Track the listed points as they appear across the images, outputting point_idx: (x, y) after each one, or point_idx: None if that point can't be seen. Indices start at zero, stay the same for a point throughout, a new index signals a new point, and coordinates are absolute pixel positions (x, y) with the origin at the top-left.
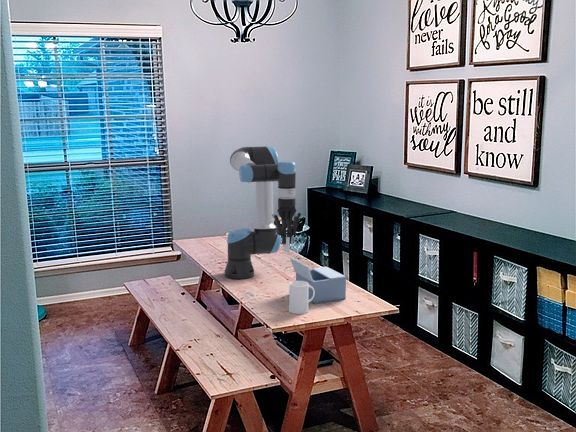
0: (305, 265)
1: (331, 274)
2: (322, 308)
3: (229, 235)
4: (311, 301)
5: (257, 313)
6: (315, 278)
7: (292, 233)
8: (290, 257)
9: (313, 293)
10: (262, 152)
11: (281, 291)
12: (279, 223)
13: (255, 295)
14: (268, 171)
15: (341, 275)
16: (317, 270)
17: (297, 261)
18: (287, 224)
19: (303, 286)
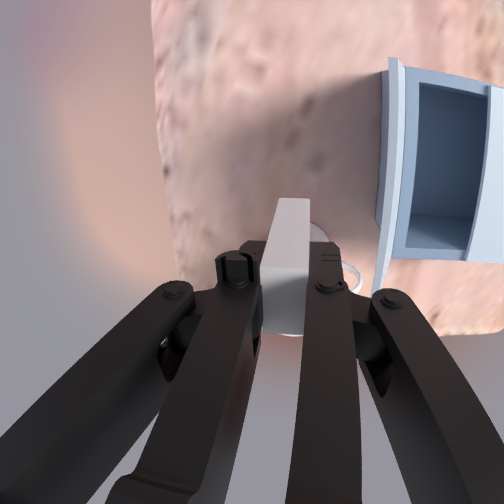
0: (379, 272)
1: (500, 218)
2: (375, 263)
3: None
4: (377, 203)
5: (170, 219)
6: (477, 95)
7: (360, 349)
8: (392, 58)
9: (357, 277)
10: None
11: (331, 35)
12: (100, 471)
13: (214, 44)
14: None
15: None
16: (492, 131)
17: (389, 171)
18: (294, 435)
19: (292, 335)
